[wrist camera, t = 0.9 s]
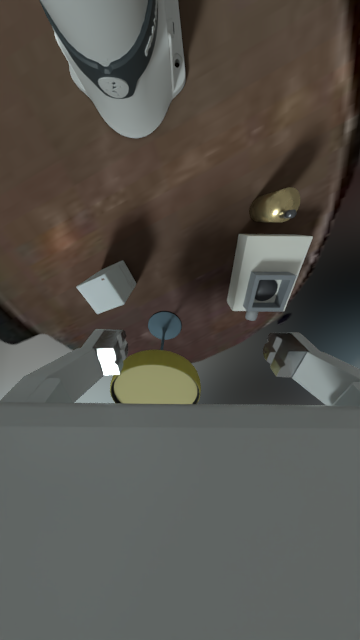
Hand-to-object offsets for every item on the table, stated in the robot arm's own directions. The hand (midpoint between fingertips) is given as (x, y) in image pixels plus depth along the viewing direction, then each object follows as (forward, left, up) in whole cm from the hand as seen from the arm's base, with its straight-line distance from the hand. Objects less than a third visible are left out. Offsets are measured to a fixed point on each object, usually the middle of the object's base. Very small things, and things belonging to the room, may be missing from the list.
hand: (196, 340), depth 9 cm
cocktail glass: (+24, -6, -38) cm, 45 cm away
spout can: (-8, +17, -37) cm, 42 cm away
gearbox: (+8, +21, -37) cm, 43 cm away
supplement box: (+8, -18, -38) cm, 42 cm away
